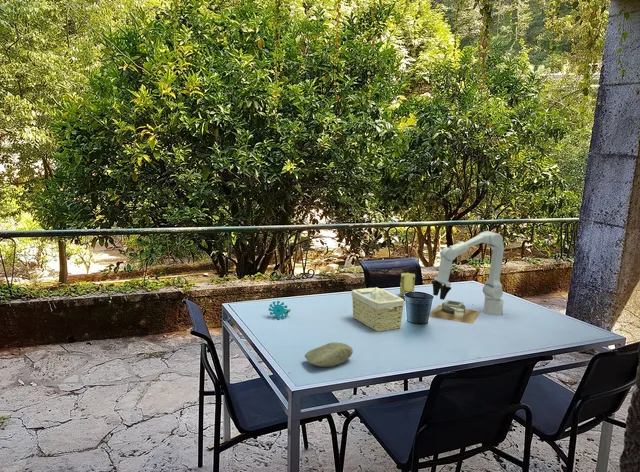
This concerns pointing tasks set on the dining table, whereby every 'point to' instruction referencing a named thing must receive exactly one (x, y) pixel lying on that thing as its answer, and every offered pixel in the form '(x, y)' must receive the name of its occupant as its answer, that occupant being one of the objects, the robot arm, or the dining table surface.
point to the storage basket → (377, 308)
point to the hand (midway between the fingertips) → (438, 297)
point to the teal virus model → (279, 310)
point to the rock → (329, 354)
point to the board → (467, 316)
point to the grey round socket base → (452, 306)
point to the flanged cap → (458, 313)
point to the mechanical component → (407, 283)
